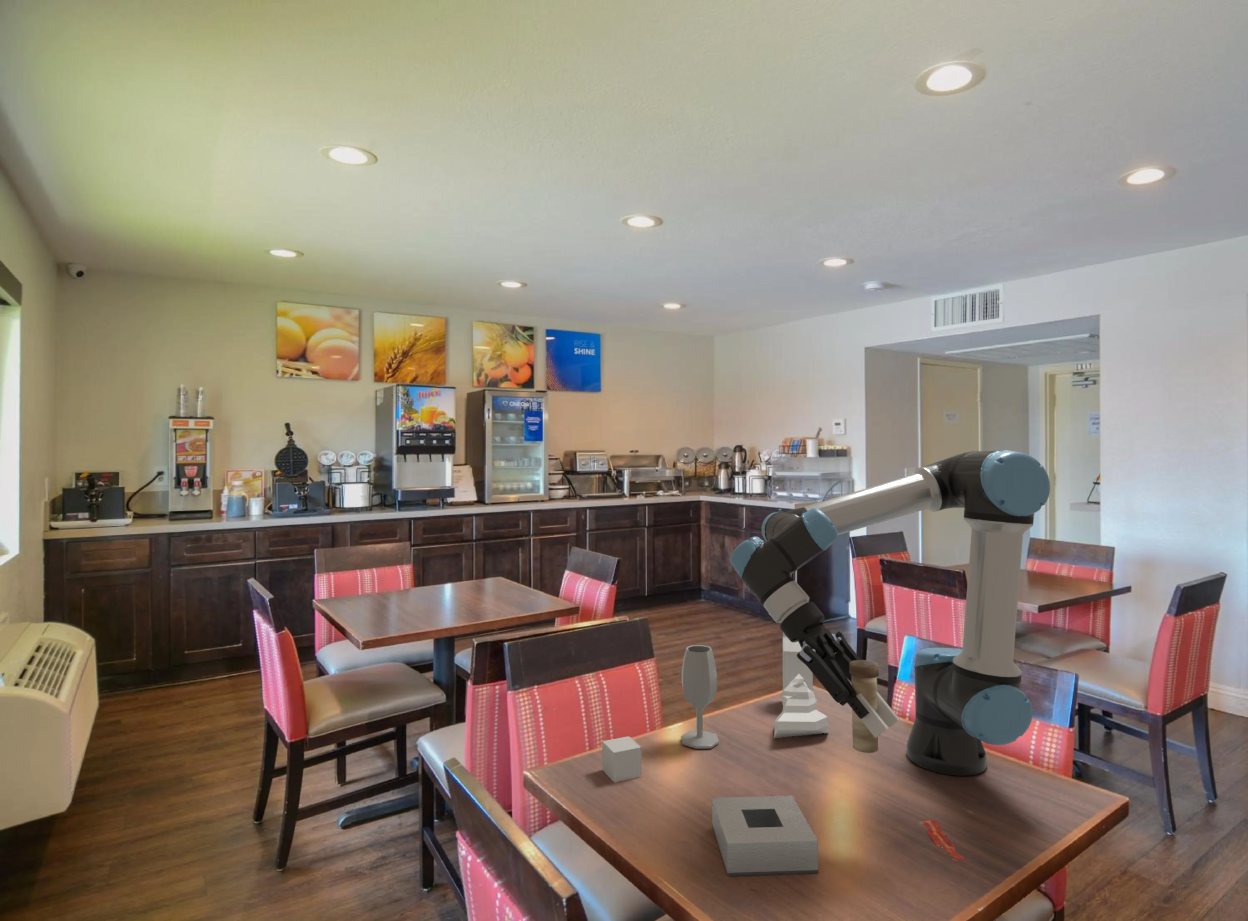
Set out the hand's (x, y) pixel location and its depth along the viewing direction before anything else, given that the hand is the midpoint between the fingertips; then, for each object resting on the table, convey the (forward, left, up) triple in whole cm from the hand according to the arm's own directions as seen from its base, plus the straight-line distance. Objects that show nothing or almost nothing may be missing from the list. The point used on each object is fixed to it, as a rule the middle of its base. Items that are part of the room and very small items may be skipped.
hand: (887, 728), depth 112 cm
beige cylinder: (+3, -3, -4) cm, 6 cm away
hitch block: (+21, -1, -19) cm, 28 cm away
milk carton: (-3, -63, -20) cm, 66 cm away
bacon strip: (-10, -3, -20) cm, 23 cm away
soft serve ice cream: (+2, -46, -20) cm, 50 cm away
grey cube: (+43, -29, -20) cm, 55 cm away
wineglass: (+25, -43, -20) cm, 53 cm away
